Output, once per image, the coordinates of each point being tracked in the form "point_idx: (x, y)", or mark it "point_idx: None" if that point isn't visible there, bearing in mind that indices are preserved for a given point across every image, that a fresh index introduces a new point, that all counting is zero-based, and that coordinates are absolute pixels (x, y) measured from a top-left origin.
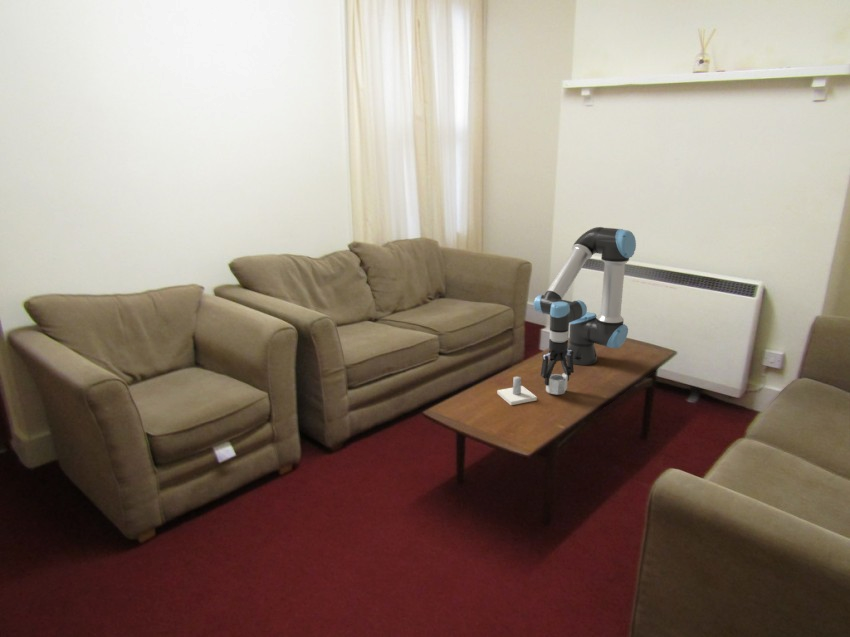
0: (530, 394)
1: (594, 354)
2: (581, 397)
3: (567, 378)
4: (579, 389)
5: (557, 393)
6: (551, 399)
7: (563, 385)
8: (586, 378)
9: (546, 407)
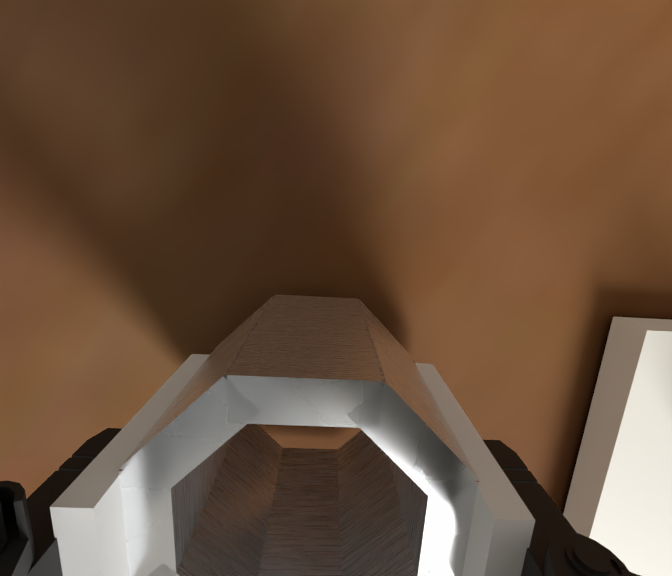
0: (657, 410)
1: None
2: (117, 167)
3: (102, 452)
4: (37, 343)
5: (364, 308)
6: (454, 273)
7: (273, 332)
8: None
9: (642, 127)
